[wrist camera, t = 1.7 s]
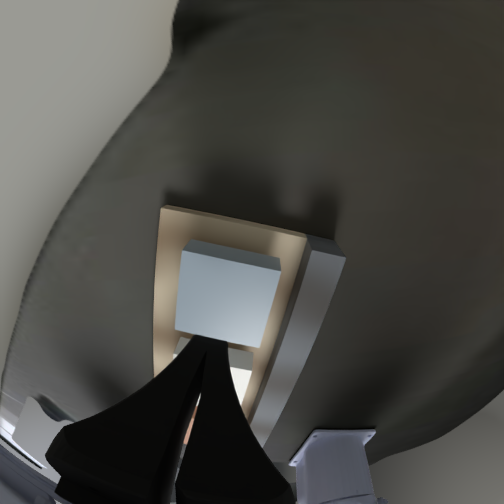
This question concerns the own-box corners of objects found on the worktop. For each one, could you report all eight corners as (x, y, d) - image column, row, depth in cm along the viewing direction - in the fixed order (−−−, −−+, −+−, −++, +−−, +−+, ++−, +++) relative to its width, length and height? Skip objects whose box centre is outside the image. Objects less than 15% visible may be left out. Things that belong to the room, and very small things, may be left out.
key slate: (260, 329, 17) (259, 347, 15) (182, 312, 17) (174, 329, 15) (279, 258, 15) (281, 271, 14) (191, 238, 15) (182, 250, 13)
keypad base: (261, 427, 25) (260, 450, 22) (158, 406, 25) (150, 427, 22) (334, 240, 17) (346, 257, 15) (166, 204, 17) (148, 215, 14)
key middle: (240, 396, 20) (238, 414, 18) (177, 383, 19) (171, 399, 18) (253, 352, 18) (252, 371, 16) (180, 336, 18) (173, 353, 16)
